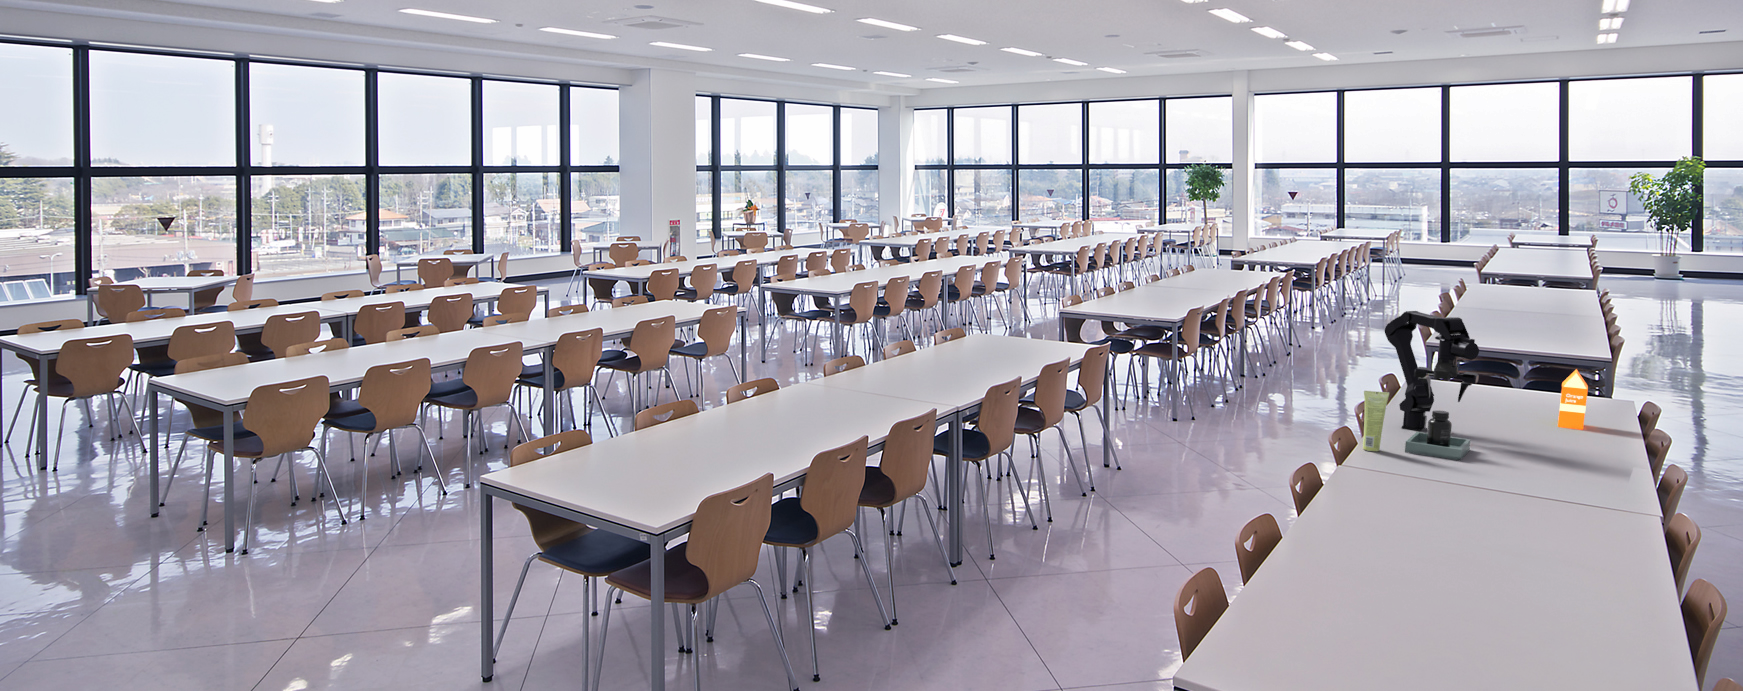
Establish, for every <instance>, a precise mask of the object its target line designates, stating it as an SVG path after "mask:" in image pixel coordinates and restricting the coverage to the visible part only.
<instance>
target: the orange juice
mask: <svg viewBox="0 0 1743 691" xmlns="http://www.w3.org/2000/svg"><path fill="white" fill-rule="evenodd" d="M1588 390H1589V386H1588V384H1587V382H1586V381H1585V380H1584V378H1583V377H1582V375H1581V374H1580V372H1579V370H1578V368H1576V369H1575V370H1574V371H1573V372H1572V373H1570V374H1569V376H1568V377H1566V379H1565V380H1563V381H1562V383H1561V392H1560V401H1559V402H1560V403H1559V411H1558V420H1557V428H1564V429H1571V430H1572V429H1573V430H1574V429H1575V430H1580V431H1581V430H1582V431H1583V430H1584V424H1585V416H1586V415H1585V414H1586V409H1587V401H1588Z"/></svg>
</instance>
